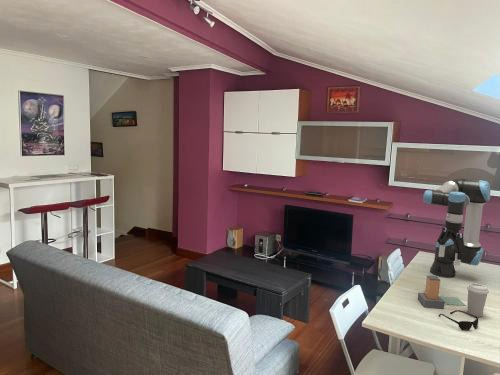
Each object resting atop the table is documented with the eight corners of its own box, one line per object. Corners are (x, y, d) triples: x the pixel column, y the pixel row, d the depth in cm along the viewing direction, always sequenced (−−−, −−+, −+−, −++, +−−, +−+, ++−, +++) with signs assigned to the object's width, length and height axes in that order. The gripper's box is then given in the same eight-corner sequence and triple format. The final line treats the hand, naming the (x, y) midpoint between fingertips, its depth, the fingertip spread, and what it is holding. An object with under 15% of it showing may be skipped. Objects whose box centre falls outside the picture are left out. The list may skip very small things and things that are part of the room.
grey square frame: (417, 299, 207) (418, 292, 206) (436, 300, 206) (436, 293, 206) (424, 307, 197) (425, 300, 196) (443, 309, 196) (444, 301, 196)
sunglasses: (462, 333, 173) (464, 323, 172) (433, 317, 187) (435, 308, 186) (482, 328, 178) (483, 318, 178) (452, 313, 193) (454, 304, 192)
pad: (439, 296, 212) (439, 296, 212) (457, 297, 211) (457, 297, 211) (446, 304, 202) (446, 303, 202) (466, 305, 201) (466, 305, 201)
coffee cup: (482, 311, 195) (486, 284, 193) (487, 319, 186) (491, 291, 184) (462, 308, 198) (465, 281, 196) (466, 316, 189) (469, 288, 187)
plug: (423, 301, 204) (426, 275, 202) (433, 302, 204) (436, 276, 202) (427, 305, 199) (430, 279, 197) (437, 306, 199) (440, 279, 197)
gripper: (433, 216, 206) (428, 253, 209) (462, 227, 182) (457, 269, 185) (445, 216, 207) (441, 253, 210) (477, 227, 183) (471, 269, 185)
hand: (448, 260), depth 197 cm, fingers open, 13 cm apart
